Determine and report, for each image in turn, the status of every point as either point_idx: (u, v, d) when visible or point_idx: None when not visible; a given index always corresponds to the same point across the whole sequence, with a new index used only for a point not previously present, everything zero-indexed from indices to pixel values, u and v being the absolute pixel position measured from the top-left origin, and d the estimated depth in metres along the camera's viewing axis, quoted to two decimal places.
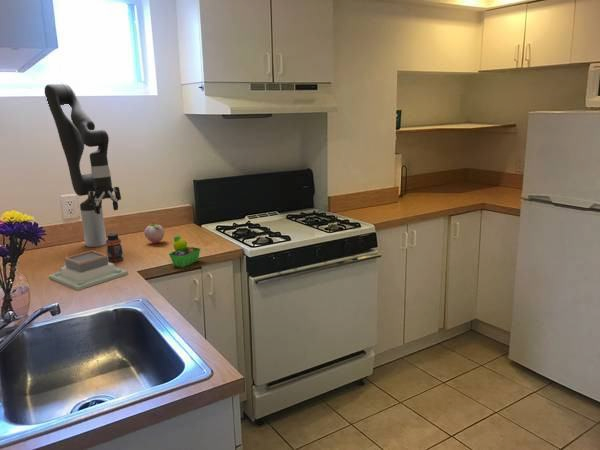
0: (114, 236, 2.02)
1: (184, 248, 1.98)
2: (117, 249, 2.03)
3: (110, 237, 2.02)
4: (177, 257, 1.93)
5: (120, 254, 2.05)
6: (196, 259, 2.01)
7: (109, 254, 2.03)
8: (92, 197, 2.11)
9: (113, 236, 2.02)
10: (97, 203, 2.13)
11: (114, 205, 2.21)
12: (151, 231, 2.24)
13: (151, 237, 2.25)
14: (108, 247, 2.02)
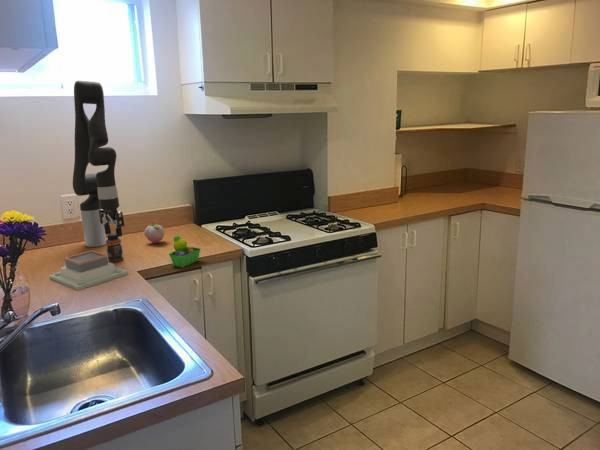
0: (114, 236, 2.02)
1: (184, 248, 1.98)
2: (117, 249, 2.03)
3: (110, 237, 2.02)
4: (177, 257, 1.93)
5: (120, 254, 2.05)
6: (196, 259, 2.01)
7: (109, 254, 2.03)
8: None
9: (113, 236, 2.02)
10: None
11: (108, 228, 2.06)
12: (151, 231, 2.24)
13: (151, 237, 2.25)
14: (108, 247, 2.02)
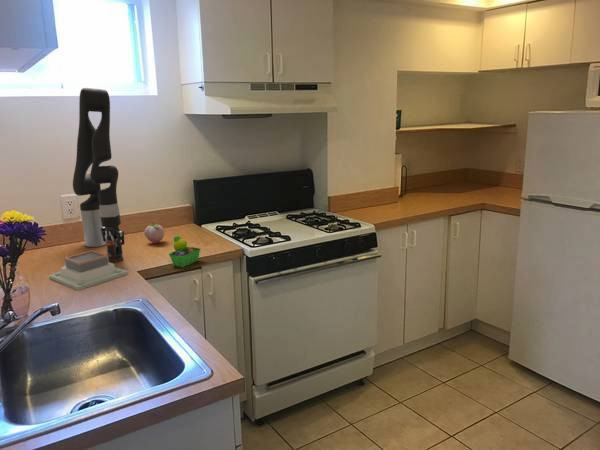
0: None
1: (184, 248, 1.98)
2: None
3: (110, 237, 2.02)
4: (177, 257, 1.93)
5: None
6: (196, 259, 2.01)
7: (109, 254, 2.03)
8: None
9: None
10: None
11: None
12: (151, 231, 2.24)
13: (151, 237, 2.25)
14: (108, 247, 2.02)
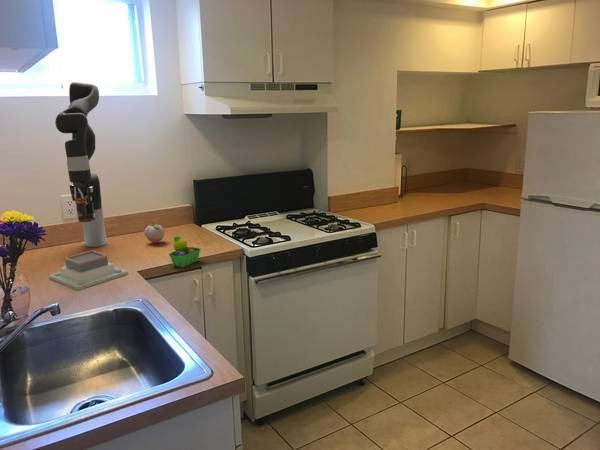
0: None
1: (184, 248, 1.98)
2: None
3: (79, 194, 1.81)
4: (177, 257, 1.93)
5: (91, 214, 1.83)
6: (196, 259, 2.01)
7: (79, 213, 1.82)
8: None
9: None
10: None
11: None
12: (151, 231, 2.24)
13: (151, 237, 2.25)
14: (77, 205, 1.81)
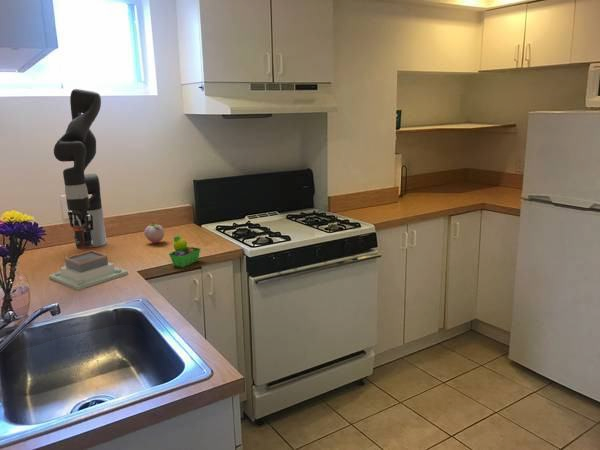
0: None
1: (184, 248, 1.98)
2: None
3: (77, 222, 1.81)
4: (177, 257, 1.93)
5: (89, 241, 1.84)
6: (196, 259, 2.01)
7: (77, 241, 1.82)
8: None
9: None
10: None
11: None
12: (151, 231, 2.24)
13: (151, 237, 2.25)
14: (75, 233, 1.81)
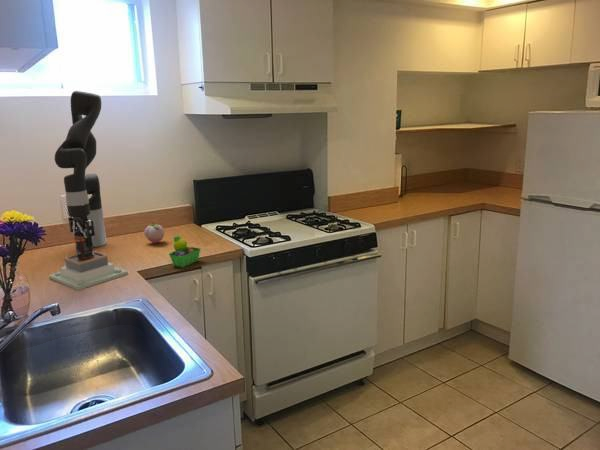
0: None
1: (184, 248, 1.98)
2: None
3: (79, 232, 1.82)
4: (177, 257, 1.93)
5: (90, 251, 1.85)
6: (196, 259, 2.01)
7: (78, 251, 1.83)
8: None
9: None
10: None
11: None
12: (151, 231, 2.24)
13: (151, 237, 2.25)
14: (77, 243, 1.83)
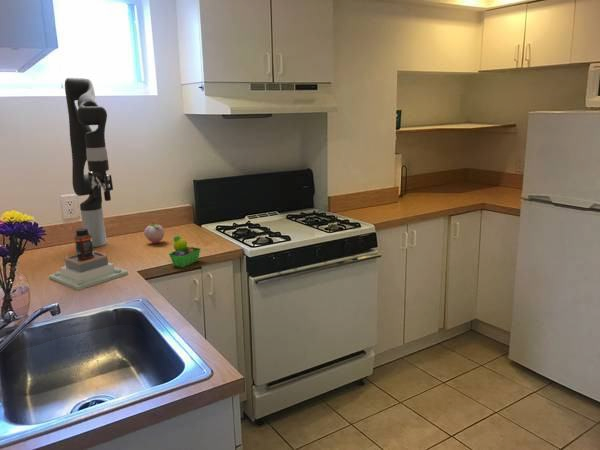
0: (83, 231, 1.83)
1: (184, 248, 1.98)
2: (87, 246, 1.83)
3: (79, 232, 1.82)
4: (177, 257, 1.93)
5: (90, 251, 1.85)
6: (196, 259, 2.01)
7: (78, 251, 1.83)
8: None
9: (82, 231, 1.82)
10: None
11: (97, 192, 1.98)
12: (151, 231, 2.24)
13: (151, 237, 2.25)
14: (77, 243, 1.83)
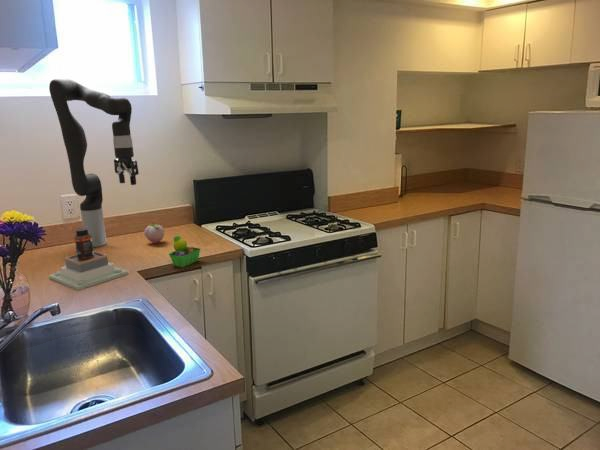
0: (83, 231, 1.83)
1: (184, 248, 1.98)
2: (87, 246, 1.83)
3: (79, 232, 1.82)
4: (177, 257, 1.93)
5: (90, 251, 1.85)
6: (196, 259, 2.01)
7: (78, 251, 1.83)
8: None
9: (82, 231, 1.82)
10: None
11: (122, 178, 2.14)
12: (151, 231, 2.24)
13: (151, 237, 2.25)
14: (77, 244, 1.83)
